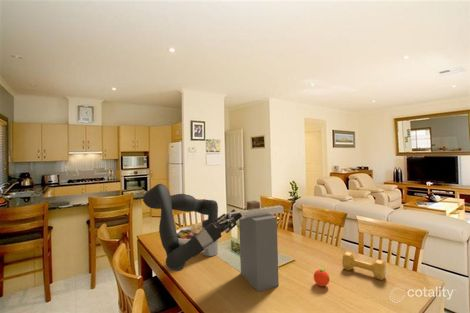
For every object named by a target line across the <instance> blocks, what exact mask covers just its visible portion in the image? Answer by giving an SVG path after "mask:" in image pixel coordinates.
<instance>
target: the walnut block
mask: <svg viewBox="0 0 470 313" xmlns="http://www.w3.org/2000/svg"><path fill="white" fill-rule="evenodd" d="M257 208H261V202H260V201H258V200H248V201H246V210H250V209H257Z"/></svg>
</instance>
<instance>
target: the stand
mask: <svg viewBox="0 0 470 313" xmlns="http://www.w3.org/2000/svg"><path fill="white" fill-rule="evenodd" d="M238 221H239V222H238V224H239V228H238V229H239V251H240V252H239V255H240V257H239V258H240V274H241V275H242V277H243V278H244V279H245V280H246V281H247V282H248V283H249V285H250V286H251V287H252V288H254V290H255V291H256V292H257V293H260V292H263V291H265V290H268V289H269V290H270V289H272V288H276V287H279V282H280V281H279V255H278V254H279V250H278V248H279V247H278V218H277V216H274V214H271V215H265V216H258V217H252V218H245V219H239V220H238Z"/></svg>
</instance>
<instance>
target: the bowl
mask: <svg viewBox="0 0 470 313" xmlns="http://www.w3.org/2000/svg"><path fill="white" fill-rule="evenodd" d="M201 230H202V225H189V226H185V227H181V228H178V229H176V232H177V236H178V239H179V244H180V245H184V244H185V243H187V242H188V241H189V240H190V239H192V238H193V237H194V236H196V235H197V234H198V233H199V232H200V231H201Z"/></svg>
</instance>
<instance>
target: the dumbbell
mask: <svg viewBox="0 0 470 313" xmlns="http://www.w3.org/2000/svg"><path fill="white" fill-rule="evenodd" d="M341 263H342V267H343V269H344V270H346V271H351V270H353V269H354V268H355V267H356V268H359V269H363V270H366V271H370V272H372V274H373V277H374V278H375V279H377V280H380V281H382V280H384V278H385V277H386V273H387V272H386V271H387V268H386V266H387V265H386V262H385V261H384V260H381V259H376V260H375V261H374V262H372V263H370V262H366V261H363V260H358V259H356V258H355V256H354V254H353V253H352V252H350V251H345V253H343V255H342V260H341Z"/></svg>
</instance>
